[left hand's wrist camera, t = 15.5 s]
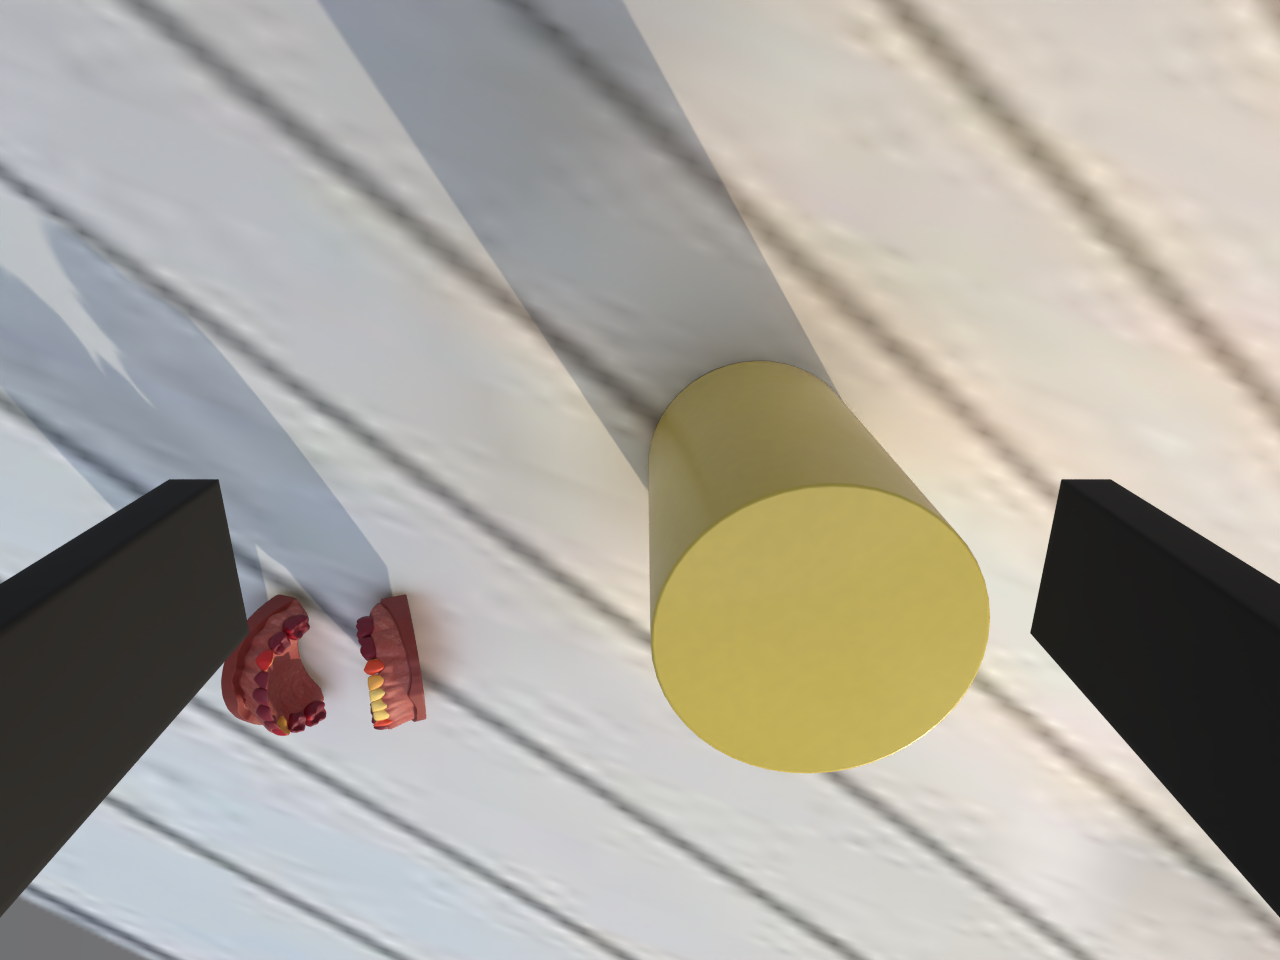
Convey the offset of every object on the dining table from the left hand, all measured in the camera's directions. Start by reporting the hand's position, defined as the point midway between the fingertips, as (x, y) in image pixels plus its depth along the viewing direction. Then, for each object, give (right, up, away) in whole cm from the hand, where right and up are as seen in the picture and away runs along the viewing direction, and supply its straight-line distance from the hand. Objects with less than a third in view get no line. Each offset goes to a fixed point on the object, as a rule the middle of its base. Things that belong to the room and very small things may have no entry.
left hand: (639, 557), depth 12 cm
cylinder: (+4, +2, +19) cm, 19 cm away
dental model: (-13, -6, +22) cm, 26 cm away
